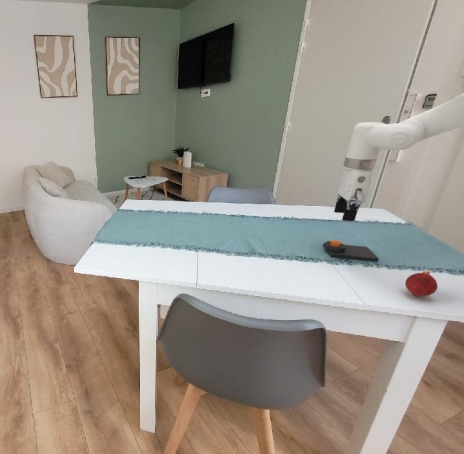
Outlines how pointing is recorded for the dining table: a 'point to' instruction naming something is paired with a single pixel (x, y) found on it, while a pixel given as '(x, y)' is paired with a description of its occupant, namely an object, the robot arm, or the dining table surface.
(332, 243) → the tare button
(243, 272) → the dining table surface
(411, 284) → the onion
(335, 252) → the scale
